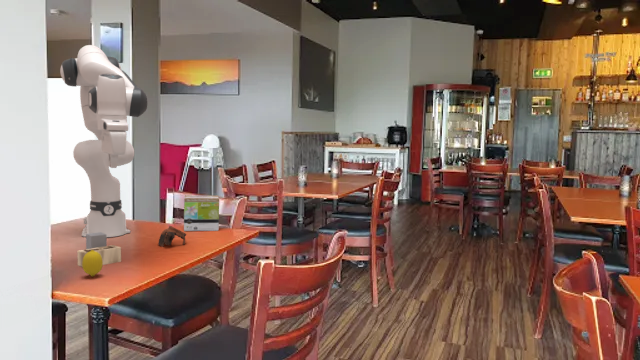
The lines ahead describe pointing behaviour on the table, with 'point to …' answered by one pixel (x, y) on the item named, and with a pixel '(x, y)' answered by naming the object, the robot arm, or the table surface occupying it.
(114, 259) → the birch block
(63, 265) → the table surface
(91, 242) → the grey block
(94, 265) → the lemon
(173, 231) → the dark brown arched figure
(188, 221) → the tea box
